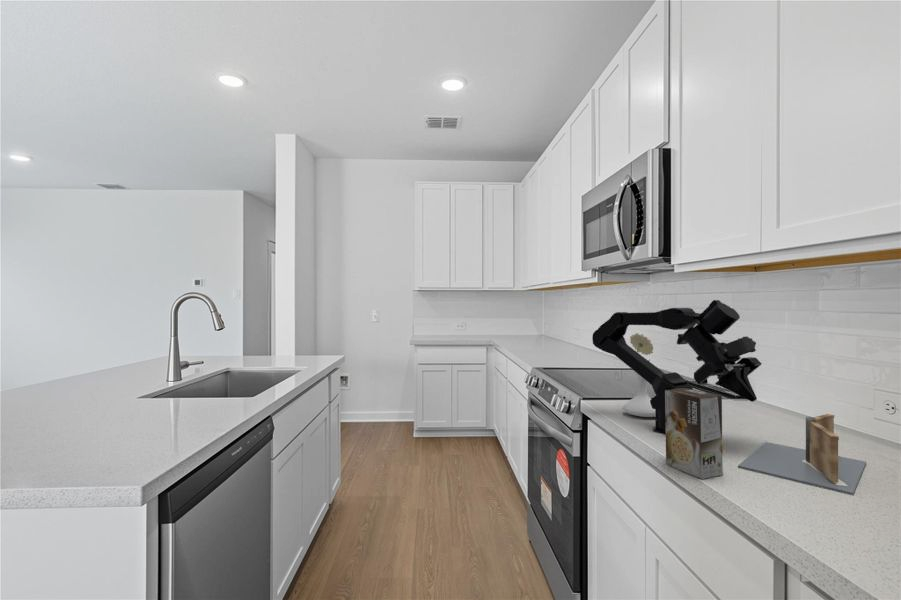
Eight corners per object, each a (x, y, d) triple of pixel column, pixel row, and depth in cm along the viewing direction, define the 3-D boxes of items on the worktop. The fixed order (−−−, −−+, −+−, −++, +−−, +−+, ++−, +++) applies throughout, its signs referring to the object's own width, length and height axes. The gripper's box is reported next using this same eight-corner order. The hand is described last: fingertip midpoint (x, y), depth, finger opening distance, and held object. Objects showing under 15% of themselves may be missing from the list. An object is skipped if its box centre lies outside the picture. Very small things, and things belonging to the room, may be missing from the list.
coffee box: (724, 475, 89) (724, 395, 89) (701, 480, 87) (701, 398, 87) (685, 460, 97) (685, 387, 97) (663, 463, 95) (663, 389, 95)
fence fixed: (804, 463, 95) (804, 417, 95) (826, 456, 100) (826, 411, 100) (813, 466, 94) (813, 418, 94) (835, 458, 98) (835, 413, 98)
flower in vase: (671, 419, 130) (670, 335, 130) (633, 420, 129) (633, 335, 129) (648, 409, 143) (648, 331, 143) (614, 409, 142) (613, 332, 142)
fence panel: (809, 462, 94) (809, 421, 94) (816, 462, 93) (816, 422, 93) (831, 481, 84) (830, 436, 84) (838, 482, 83) (838, 436, 83)
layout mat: (737, 467, 93) (737, 465, 93) (765, 443, 108) (765, 441, 108) (853, 495, 80) (853, 492, 80) (866, 463, 95) (866, 461, 95)
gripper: (706, 326, 100) (758, 382, 91) (752, 324, 109) (805, 375, 99) (674, 357, 107) (720, 412, 98) (720, 352, 116) (766, 403, 106)
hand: (754, 400), depth 100 cm, fingers closed
